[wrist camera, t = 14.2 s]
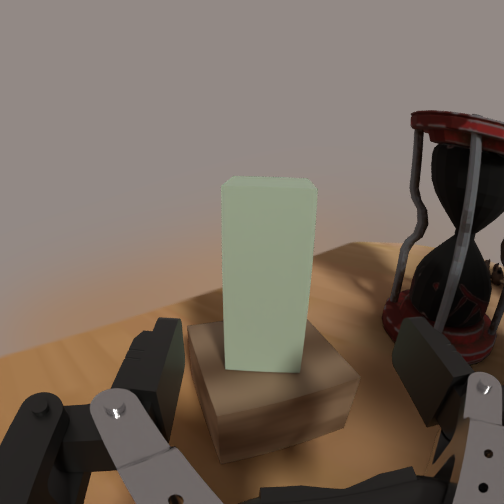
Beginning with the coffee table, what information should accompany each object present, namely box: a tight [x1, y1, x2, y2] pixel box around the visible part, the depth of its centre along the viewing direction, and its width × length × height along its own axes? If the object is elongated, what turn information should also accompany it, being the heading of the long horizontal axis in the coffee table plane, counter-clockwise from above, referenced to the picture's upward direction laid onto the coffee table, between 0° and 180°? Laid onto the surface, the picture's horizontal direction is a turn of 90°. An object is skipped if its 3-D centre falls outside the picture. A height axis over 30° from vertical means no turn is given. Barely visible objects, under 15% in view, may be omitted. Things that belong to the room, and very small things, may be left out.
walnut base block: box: [187, 319, 361, 464], centre depth 24 cm, size 10×10×6 cm
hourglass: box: [382, 110, 504, 365], centre depth 30 cm, size 16×16×25 cm
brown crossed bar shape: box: [485, 259, 504, 285], centre depth 49 cm, size 18×4×14 cm
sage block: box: [221, 176, 318, 373], centre depth 21 cm, size 5×5×12 cm
